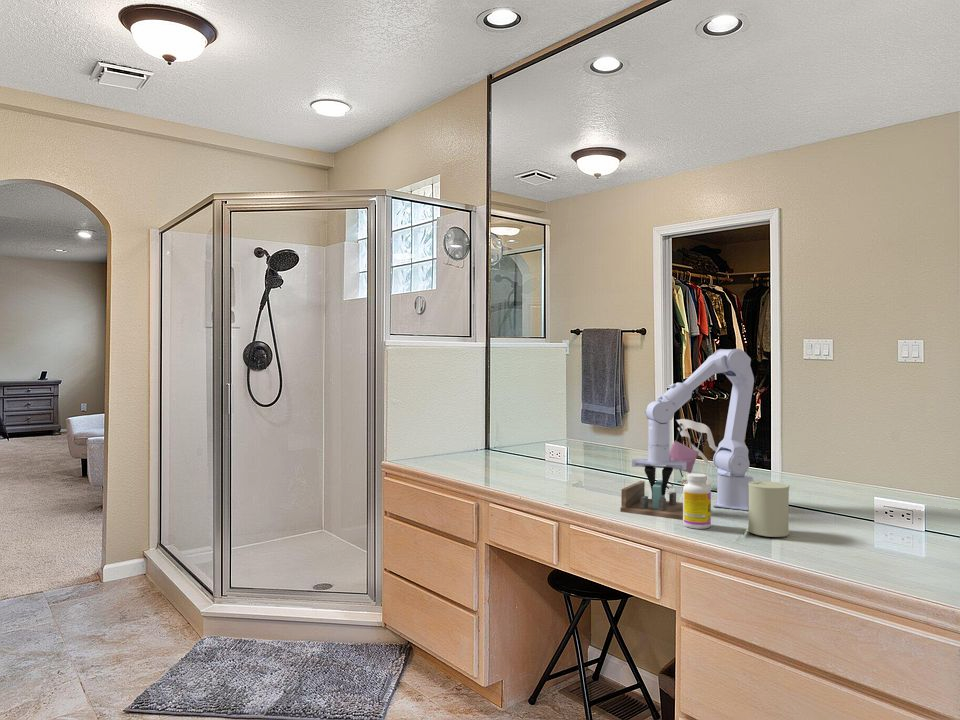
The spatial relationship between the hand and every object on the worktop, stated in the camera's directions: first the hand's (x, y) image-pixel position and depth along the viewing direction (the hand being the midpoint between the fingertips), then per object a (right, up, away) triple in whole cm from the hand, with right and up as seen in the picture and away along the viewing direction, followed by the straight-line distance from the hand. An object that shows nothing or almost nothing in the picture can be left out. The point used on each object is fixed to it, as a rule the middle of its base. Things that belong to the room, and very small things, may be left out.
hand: (658, 494), depth 190 cm
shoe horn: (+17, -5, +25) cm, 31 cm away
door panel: (0, -3, 0) cm, 3 cm away
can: (+20, -5, -24) cm, 32 cm away
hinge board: (+1, -4, -1) cm, 4 cm away
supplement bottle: (+5, -5, -19) cm, 20 cm away
